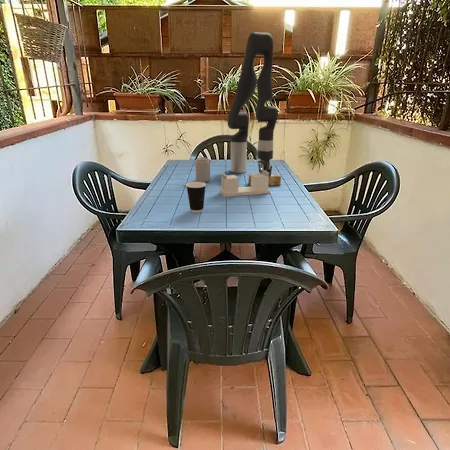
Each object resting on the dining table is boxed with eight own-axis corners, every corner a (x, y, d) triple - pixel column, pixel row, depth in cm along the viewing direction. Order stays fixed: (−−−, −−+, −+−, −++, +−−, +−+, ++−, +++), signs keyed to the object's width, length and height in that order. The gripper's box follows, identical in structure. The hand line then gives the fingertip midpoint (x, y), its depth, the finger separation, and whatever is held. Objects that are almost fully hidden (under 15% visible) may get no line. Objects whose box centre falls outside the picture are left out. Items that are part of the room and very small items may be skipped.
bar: (248, 184, 176) (248, 176, 174) (248, 182, 180) (248, 174, 178) (280, 185, 176) (281, 176, 174) (279, 182, 179) (280, 174, 178)
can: (193, 181, 182) (192, 158, 178) (200, 178, 188) (200, 156, 184) (205, 183, 179) (205, 160, 175) (212, 180, 185) (212, 157, 181)
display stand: (224, 196, 158) (223, 176, 154) (220, 191, 165) (219, 172, 161) (269, 193, 163) (270, 173, 159) (263, 188, 170) (264, 169, 166)
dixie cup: (187, 207, 144) (185, 181, 140) (206, 207, 145) (205, 181, 141) (187, 214, 137) (185, 187, 133) (207, 213, 138) (206, 186, 133)
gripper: (253, 147, 177) (252, 179, 183) (263, 152, 164) (261, 187, 170) (267, 146, 178) (266, 178, 185) (278, 151, 165) (276, 186, 172)
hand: (264, 182), depth 177 cm, fingers closed on bar, 4 cm apart
